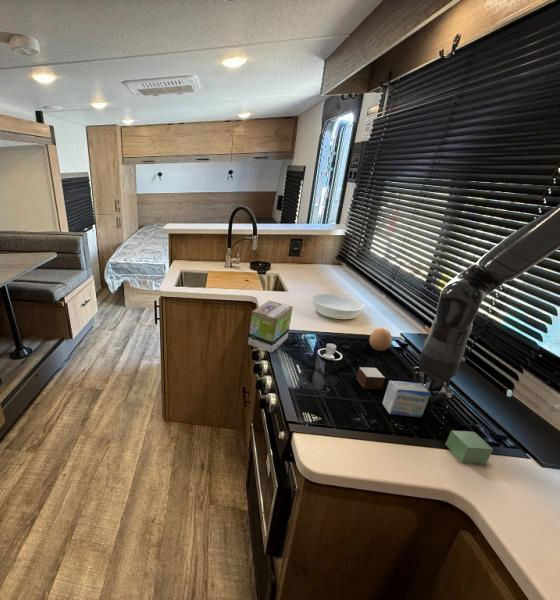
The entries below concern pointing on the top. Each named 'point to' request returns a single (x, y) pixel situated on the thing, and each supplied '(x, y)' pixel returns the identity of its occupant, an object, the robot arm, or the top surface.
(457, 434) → the sage block
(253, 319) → the tea box
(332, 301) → the serving bowl
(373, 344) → the egg
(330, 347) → the white ring with knob
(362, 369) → the walnut block
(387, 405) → the medicine box
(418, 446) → the top surface
